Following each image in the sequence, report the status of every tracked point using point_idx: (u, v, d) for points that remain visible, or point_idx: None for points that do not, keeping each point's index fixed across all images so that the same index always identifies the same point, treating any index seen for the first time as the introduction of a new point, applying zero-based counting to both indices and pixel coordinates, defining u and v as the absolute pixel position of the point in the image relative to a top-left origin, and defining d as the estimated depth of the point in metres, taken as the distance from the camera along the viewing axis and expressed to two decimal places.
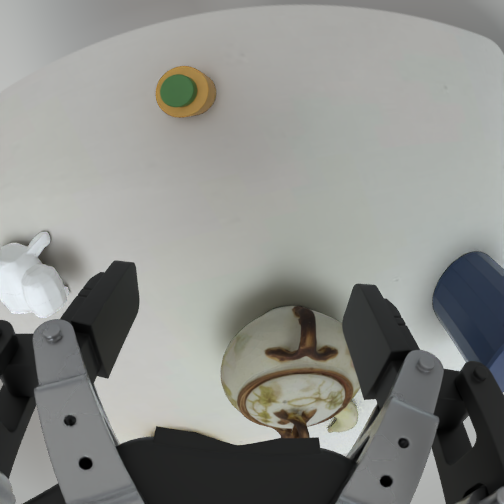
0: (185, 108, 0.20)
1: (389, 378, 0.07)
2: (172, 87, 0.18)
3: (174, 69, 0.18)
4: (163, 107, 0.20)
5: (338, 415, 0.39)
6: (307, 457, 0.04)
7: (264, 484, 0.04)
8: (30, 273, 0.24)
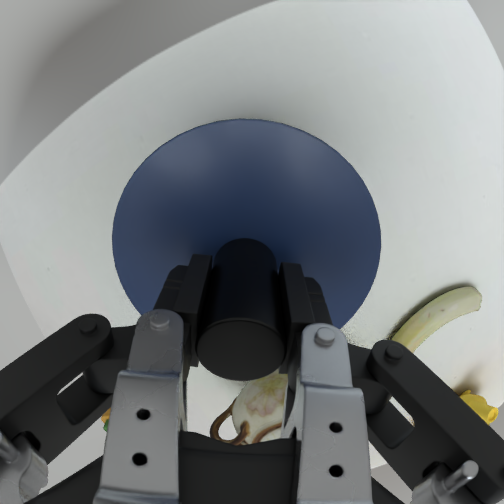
0: None
1: (294, 350, 0.08)
2: None
3: (104, 422, 0.37)
4: None
5: (428, 334, 0.29)
6: None
7: (264, 484, 0.04)
8: None
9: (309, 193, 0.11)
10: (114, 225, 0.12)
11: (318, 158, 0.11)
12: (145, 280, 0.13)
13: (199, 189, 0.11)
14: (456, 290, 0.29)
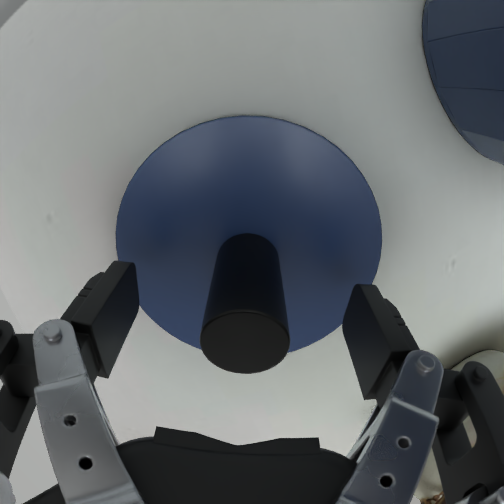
0: None
1: (389, 378, 0.07)
2: None
3: None
4: None
5: None
6: (307, 457, 0.04)
7: (264, 484, 0.04)
8: None
9: (311, 188, 0.11)
10: (118, 221, 0.12)
11: (319, 154, 0.11)
12: (148, 276, 0.13)
13: (203, 185, 0.11)
14: None
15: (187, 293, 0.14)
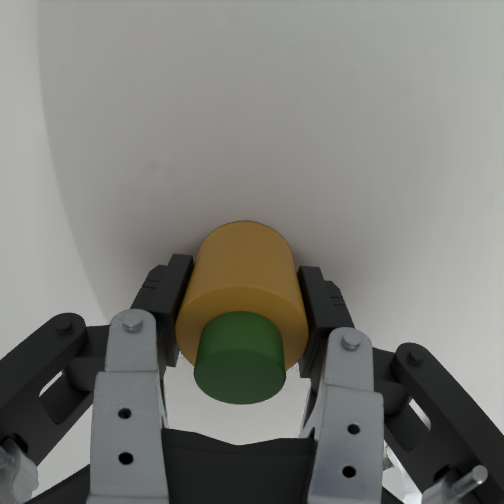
0: (288, 335, 0.09)
1: (318, 354, 0.08)
2: (230, 386, 0.07)
3: (183, 351, 0.09)
4: None
5: None
6: (307, 457, 0.04)
7: (264, 484, 0.04)
8: None
9: None
10: None
11: None
12: None
13: None
14: None
15: None
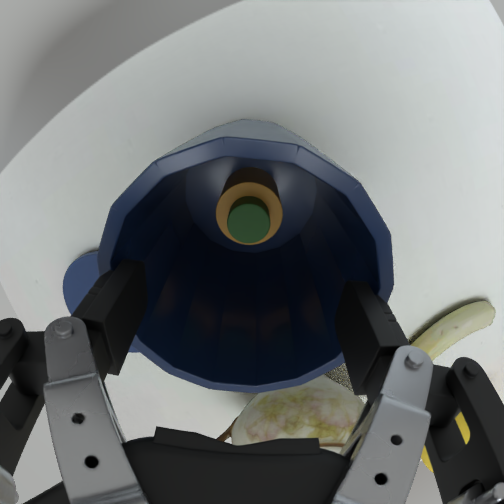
0: (272, 210, 0.18)
1: (379, 373, 0.07)
2: (244, 228, 0.17)
3: (219, 222, 0.18)
4: (267, 236, 0.19)
5: (440, 352, 0.26)
6: (307, 457, 0.04)
7: (264, 484, 0.04)
8: None
9: None
10: (63, 289, 0.26)
11: None
12: None
13: (89, 279, 0.25)
14: (470, 305, 0.26)
15: None
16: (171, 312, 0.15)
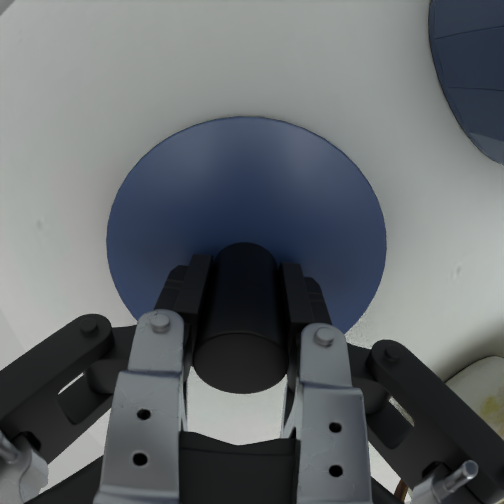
0: None
1: (293, 350, 0.08)
2: None
3: None
4: None
5: None
6: None
7: (264, 484, 0.04)
8: None
9: (312, 195, 0.11)
10: (108, 229, 0.11)
11: (321, 158, 0.10)
12: (141, 285, 0.12)
13: (197, 191, 0.11)
14: None
15: None
16: None
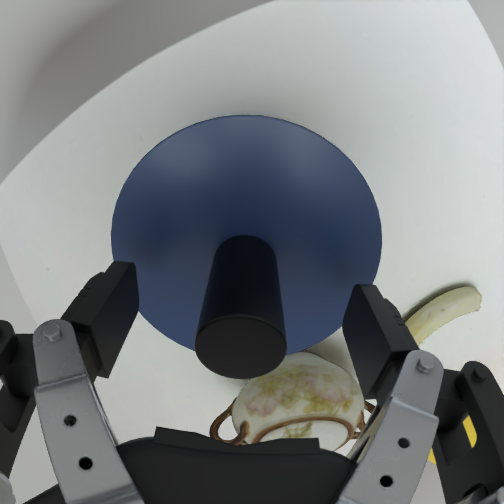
0: None
1: (389, 378, 0.07)
2: None
3: None
4: None
5: (428, 333, 0.29)
6: (307, 457, 0.04)
7: (264, 484, 0.04)
8: None
9: (309, 189, 0.11)
10: (113, 222, 0.12)
11: (318, 154, 0.10)
12: (145, 278, 0.13)
13: (199, 186, 0.11)
14: (456, 290, 0.29)
15: (183, 296, 0.13)
16: None
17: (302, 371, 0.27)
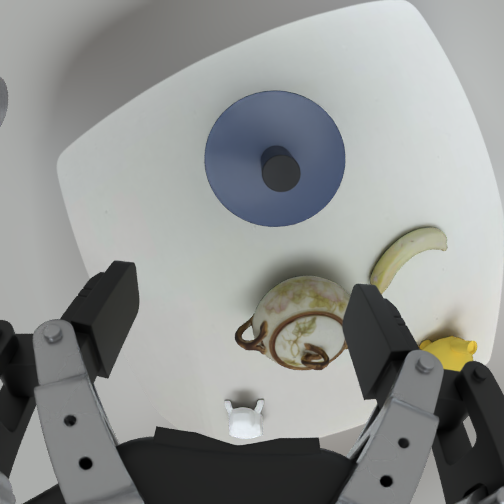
0: None
1: (389, 378, 0.07)
2: None
3: None
4: None
5: (402, 260, 0.41)
6: (307, 457, 0.04)
7: (264, 484, 0.04)
8: None
9: (306, 124, 0.23)
10: (208, 139, 0.23)
11: (310, 108, 0.22)
12: (221, 170, 0.25)
13: (255, 121, 0.23)
14: (423, 228, 0.40)
15: (242, 180, 0.25)
16: None
17: (306, 279, 0.39)
